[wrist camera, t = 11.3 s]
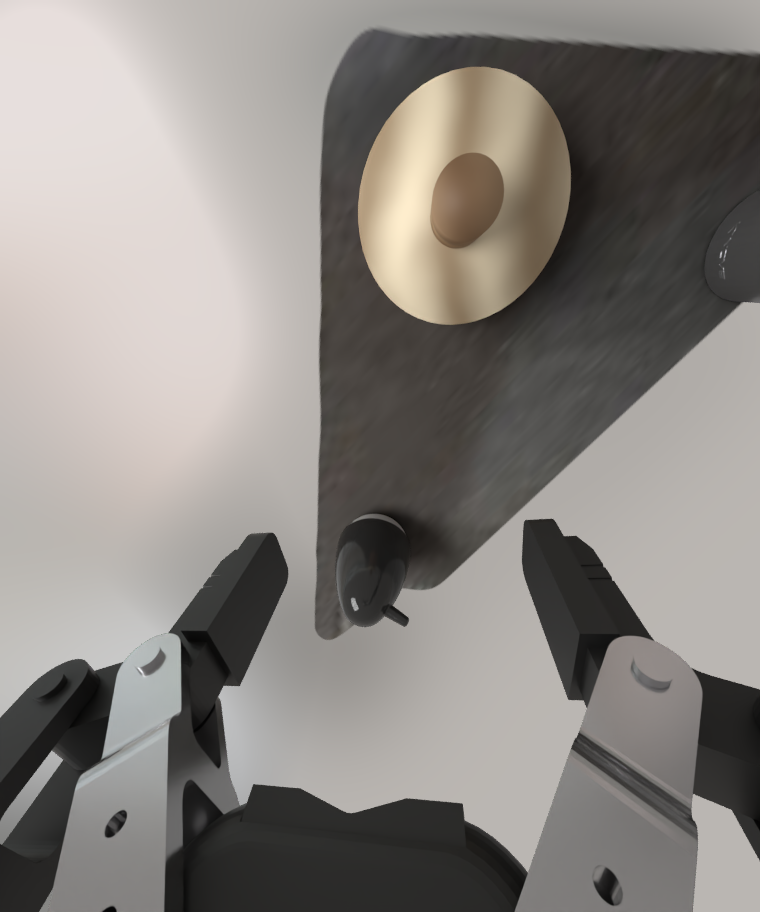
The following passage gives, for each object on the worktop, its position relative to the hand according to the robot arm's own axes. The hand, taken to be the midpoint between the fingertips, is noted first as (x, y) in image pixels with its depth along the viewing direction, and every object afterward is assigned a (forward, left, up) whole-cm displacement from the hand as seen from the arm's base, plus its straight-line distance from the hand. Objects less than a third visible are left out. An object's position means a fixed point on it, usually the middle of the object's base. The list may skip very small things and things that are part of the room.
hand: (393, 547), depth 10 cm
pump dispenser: (+8, +24, -30) cm, 39 cm away
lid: (-5, -12, -25) cm, 28 cm away
